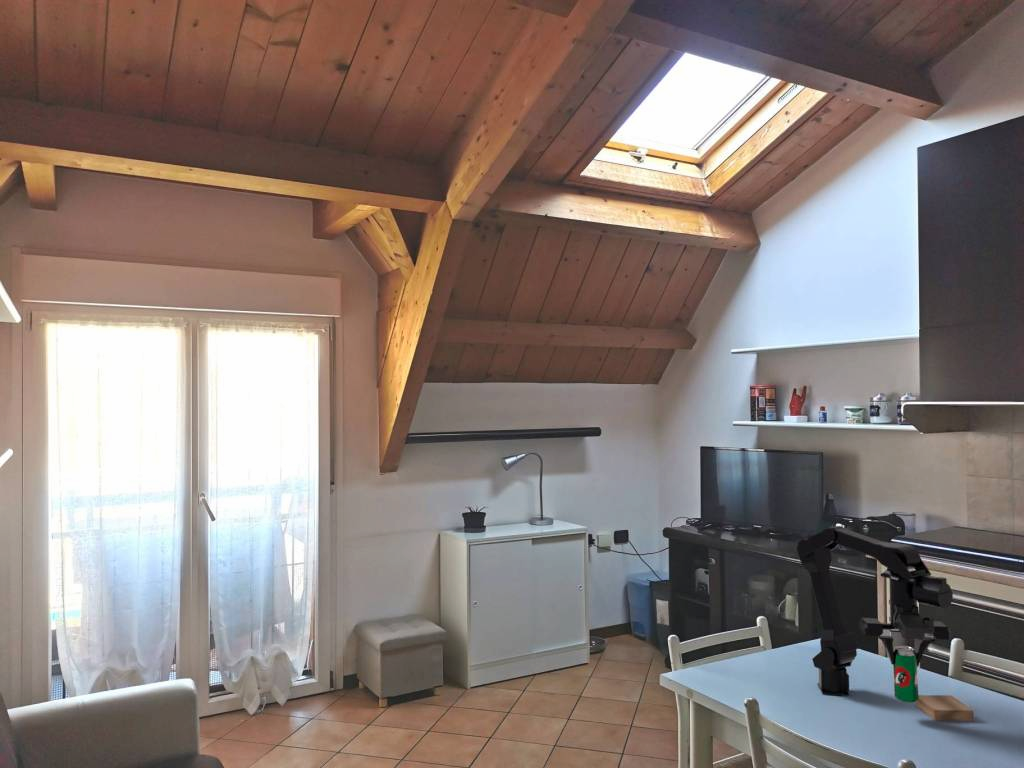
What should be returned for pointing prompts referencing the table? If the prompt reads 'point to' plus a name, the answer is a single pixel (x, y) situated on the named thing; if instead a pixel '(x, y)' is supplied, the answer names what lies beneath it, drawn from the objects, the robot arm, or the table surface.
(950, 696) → the tan block
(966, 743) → the table surface
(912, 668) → the soda can
